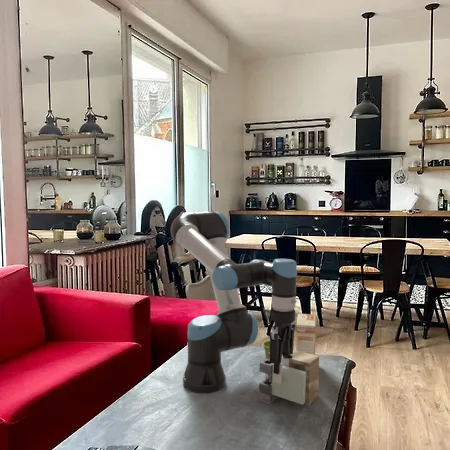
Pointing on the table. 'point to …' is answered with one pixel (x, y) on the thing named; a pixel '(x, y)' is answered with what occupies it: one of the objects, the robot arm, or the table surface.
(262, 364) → the square frame paddle
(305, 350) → the coffeecake box
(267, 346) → the plant pot
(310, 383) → the cabinet
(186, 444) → the table surface
